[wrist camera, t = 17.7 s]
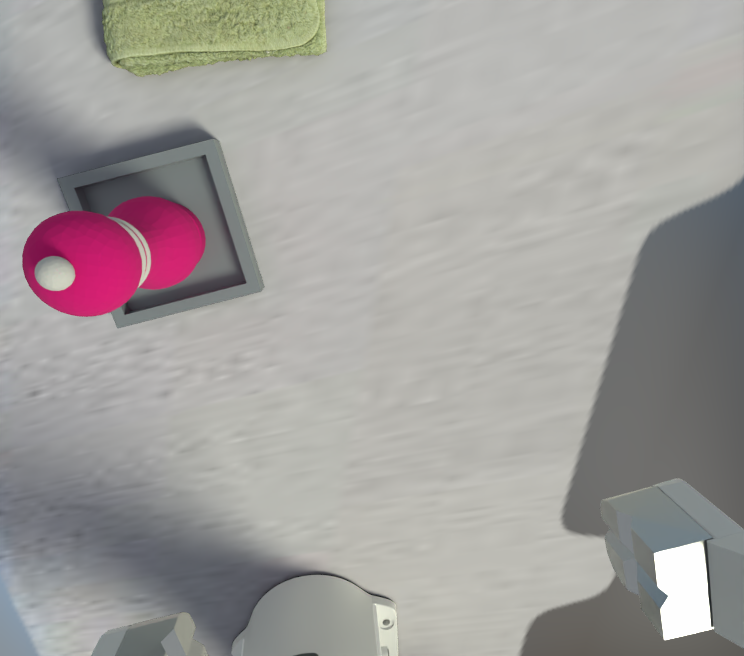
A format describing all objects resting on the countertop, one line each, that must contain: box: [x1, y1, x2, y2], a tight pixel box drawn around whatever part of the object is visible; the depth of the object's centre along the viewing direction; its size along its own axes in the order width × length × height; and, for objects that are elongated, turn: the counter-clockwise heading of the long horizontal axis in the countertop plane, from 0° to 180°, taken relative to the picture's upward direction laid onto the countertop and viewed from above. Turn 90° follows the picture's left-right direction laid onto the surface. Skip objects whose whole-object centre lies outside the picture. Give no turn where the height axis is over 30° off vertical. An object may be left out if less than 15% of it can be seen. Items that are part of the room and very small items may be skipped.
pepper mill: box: [22, 196, 206, 317], centre depth 35 cm, size 7×7×20 cm
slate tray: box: [57, 139, 264, 328], centre depth 44 cm, size 13×13×2 cm
